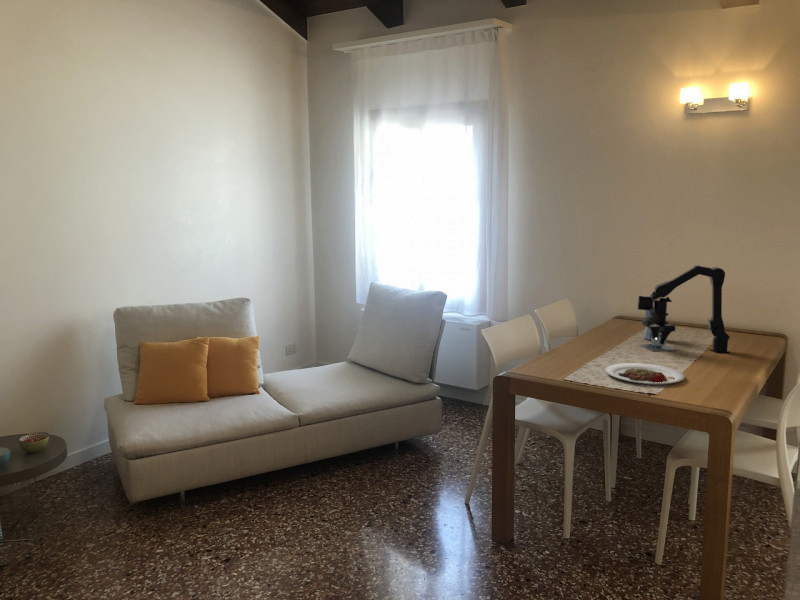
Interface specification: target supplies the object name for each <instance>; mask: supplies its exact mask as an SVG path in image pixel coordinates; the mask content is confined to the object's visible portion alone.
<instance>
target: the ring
mask: <svg viewBox="0 0 800 600" xmlns="http://www.w3.org/2000/svg"><path fill="white" fill-rule="evenodd" d="M655 338H656V337H652V338H651V340H650V344H651V345H655V346H665V345H667V344H666V343H667V339H666V340H665V342H664V344H661V341H660V340H659V339H655Z"/></svg>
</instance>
